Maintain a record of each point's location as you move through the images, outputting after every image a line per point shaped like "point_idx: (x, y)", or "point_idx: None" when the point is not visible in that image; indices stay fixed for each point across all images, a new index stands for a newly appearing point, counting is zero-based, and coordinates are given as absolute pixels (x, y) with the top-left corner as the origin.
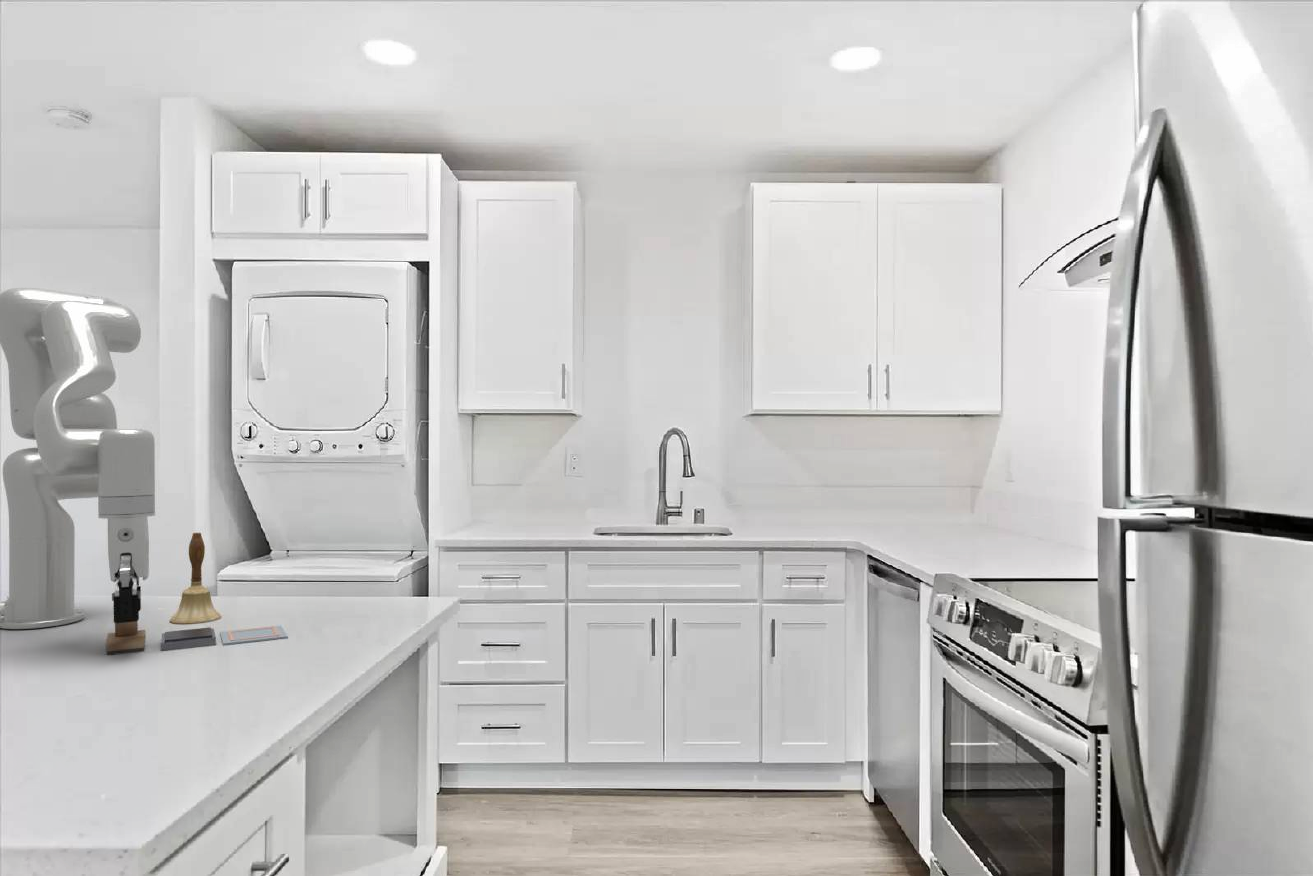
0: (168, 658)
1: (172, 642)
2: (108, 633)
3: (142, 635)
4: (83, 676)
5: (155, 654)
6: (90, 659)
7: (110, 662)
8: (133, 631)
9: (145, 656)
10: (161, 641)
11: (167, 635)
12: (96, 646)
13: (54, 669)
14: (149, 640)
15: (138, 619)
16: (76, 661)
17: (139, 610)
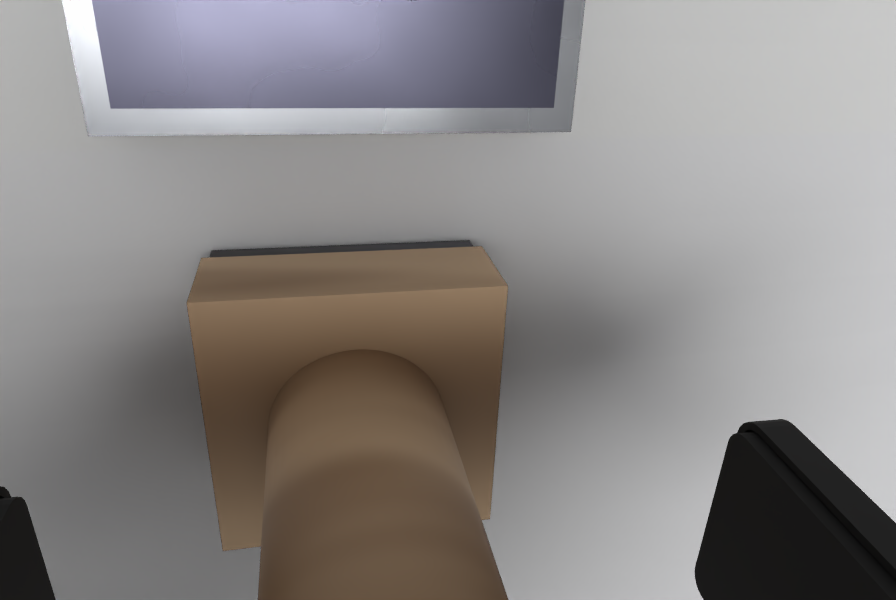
0: (830, 65)
1: (579, 36)
2: (226, 549)
3: (474, 304)
4: (892, 460)
5: (636, 156)
6: (523, 500)
7: (678, 395)
8: (429, 391)
9: (654, 219)
10: (500, 132)
11: (336, 83)
12: (118, 541)
13: (649, 596)
14: (22, 224)
15: (785, 421)
16: (529, 551)
17: (6, 490)
